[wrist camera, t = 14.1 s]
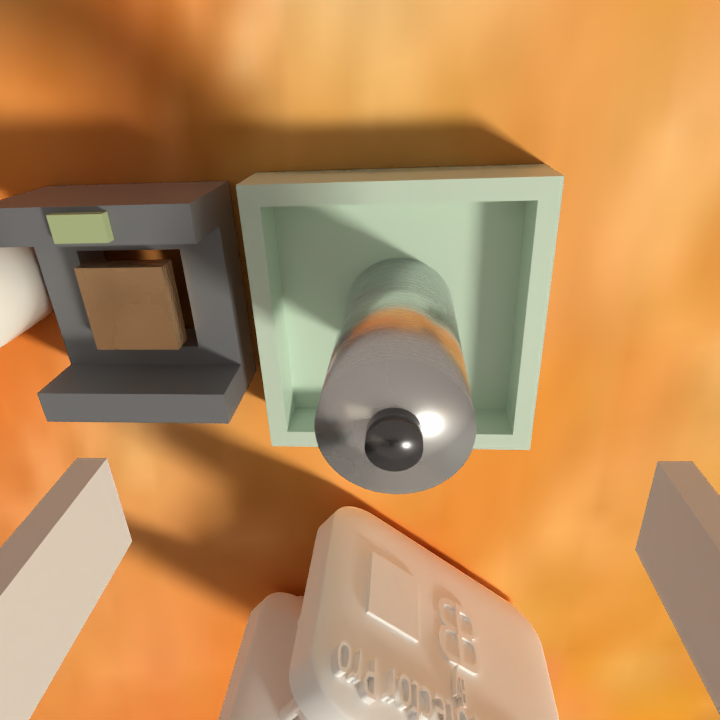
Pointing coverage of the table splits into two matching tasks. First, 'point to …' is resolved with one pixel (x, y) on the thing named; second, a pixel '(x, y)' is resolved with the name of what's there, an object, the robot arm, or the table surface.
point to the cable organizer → (387, 639)
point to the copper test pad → (132, 304)
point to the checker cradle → (204, 284)
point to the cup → (21, 292)
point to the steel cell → (397, 383)
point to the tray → (413, 241)
